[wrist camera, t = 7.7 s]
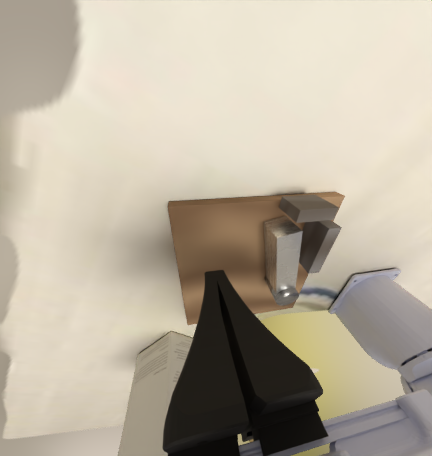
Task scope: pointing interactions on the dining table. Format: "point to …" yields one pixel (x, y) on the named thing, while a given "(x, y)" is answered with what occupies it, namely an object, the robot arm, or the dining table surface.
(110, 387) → the dining table surface
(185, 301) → the lock board
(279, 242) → the swing bar
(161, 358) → the skincare box
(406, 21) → the dining table surface
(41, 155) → the dining table surface
